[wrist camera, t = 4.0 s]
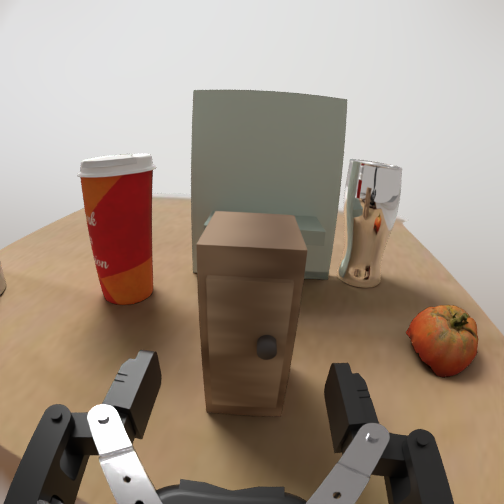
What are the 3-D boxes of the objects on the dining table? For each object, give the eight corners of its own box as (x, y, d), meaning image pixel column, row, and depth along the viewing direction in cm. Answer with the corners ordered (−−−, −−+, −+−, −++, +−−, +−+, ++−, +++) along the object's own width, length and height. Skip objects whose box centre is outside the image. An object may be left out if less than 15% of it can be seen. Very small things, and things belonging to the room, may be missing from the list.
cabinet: (204, 425, 17) (190, 254, 12) (216, 355, 24) (215, 211, 19) (281, 430, 17) (311, 260, 12) (277, 359, 24) (294, 215, 19)
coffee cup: (105, 274, 35) (94, 156, 30) (166, 275, 36) (161, 151, 31) (84, 310, 28) (62, 164, 22) (157, 312, 29) (146, 157, 23)
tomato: (408, 366, 20) (432, 283, 22) (386, 365, 27) (407, 299, 28) (480, 387, 18) (498, 309, 20) (447, 384, 24) (465, 320, 26)
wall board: (183, 294, 32) (180, 82, 24) (200, 256, 42) (202, 95, 34) (336, 302, 32) (362, 93, 24) (320, 263, 42) (336, 103, 34)
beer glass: (324, 278, 38) (339, 158, 32) (344, 262, 43) (358, 158, 37) (374, 295, 34) (398, 169, 28) (388, 275, 39) (407, 168, 33)
